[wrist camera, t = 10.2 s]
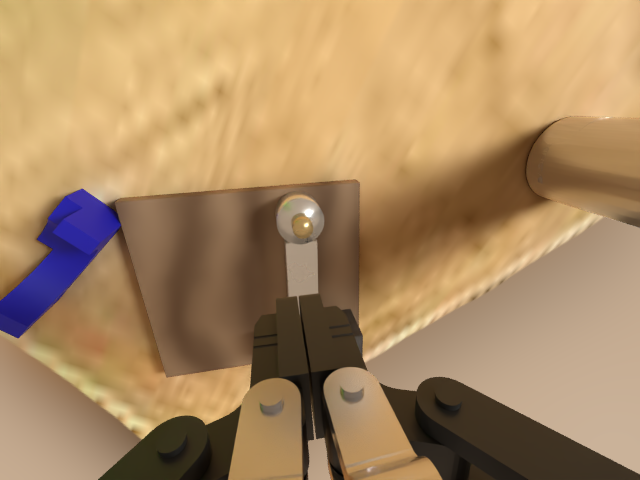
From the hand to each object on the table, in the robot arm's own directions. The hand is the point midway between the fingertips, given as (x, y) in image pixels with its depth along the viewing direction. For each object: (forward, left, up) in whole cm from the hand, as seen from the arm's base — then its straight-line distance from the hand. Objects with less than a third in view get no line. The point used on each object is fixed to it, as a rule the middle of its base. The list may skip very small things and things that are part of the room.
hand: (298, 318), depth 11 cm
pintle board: (+3, +11, -23) cm, 26 cm away
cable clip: (+20, +5, -24) cm, 32 cm away
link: (-2, +10, -22) cm, 24 cm away
